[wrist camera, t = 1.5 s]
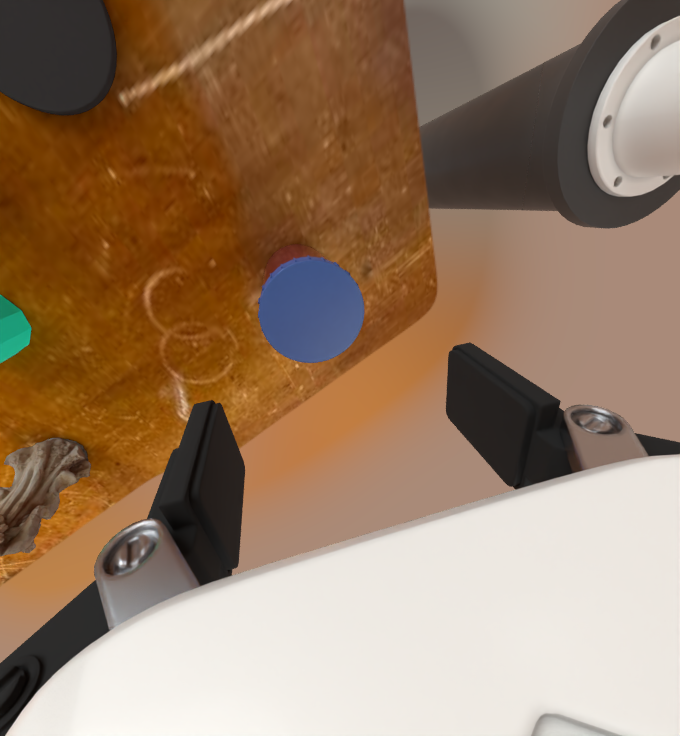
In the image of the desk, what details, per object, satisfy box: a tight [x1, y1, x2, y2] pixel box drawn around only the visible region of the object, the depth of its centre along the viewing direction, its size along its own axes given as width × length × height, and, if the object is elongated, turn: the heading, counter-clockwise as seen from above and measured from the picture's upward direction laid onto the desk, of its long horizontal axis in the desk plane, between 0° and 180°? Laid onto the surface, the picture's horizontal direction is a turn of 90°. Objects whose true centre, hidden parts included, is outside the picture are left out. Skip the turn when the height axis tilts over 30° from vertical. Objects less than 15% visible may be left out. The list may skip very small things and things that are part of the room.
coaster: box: [0, 0, 117, 115], centre depth 18 cm, size 9×9×1 cm
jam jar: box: [263, 244, 327, 285], centre depth 25 cm, size 6×6×10 cm
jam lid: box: [258, 255, 364, 363], centre depth 20 cm, size 7×7×2 cm
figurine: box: [0, 438, 91, 556], centre depth 26 cm, size 7×6×15 cm
